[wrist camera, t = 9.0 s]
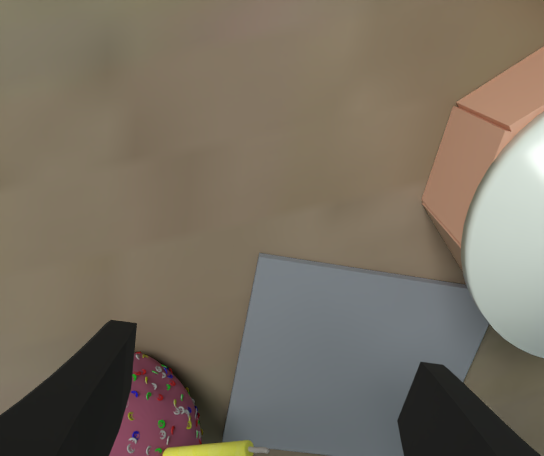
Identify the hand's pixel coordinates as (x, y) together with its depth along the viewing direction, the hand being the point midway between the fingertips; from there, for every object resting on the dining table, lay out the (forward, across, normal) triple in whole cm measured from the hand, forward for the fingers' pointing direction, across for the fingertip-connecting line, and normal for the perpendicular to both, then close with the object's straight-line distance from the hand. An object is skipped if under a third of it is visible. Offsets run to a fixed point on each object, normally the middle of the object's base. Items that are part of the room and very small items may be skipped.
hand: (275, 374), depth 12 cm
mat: (+10, -6, +8) cm, 14 cm away
